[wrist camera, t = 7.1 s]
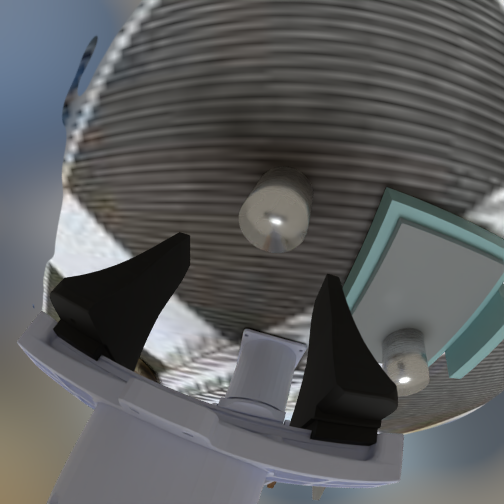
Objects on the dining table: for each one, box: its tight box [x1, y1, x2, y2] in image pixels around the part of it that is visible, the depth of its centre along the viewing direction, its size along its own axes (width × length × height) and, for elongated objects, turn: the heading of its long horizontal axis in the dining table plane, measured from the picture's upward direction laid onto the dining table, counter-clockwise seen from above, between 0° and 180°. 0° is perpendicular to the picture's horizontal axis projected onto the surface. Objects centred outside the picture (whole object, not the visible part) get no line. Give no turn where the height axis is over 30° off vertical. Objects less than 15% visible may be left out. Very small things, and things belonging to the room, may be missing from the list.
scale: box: [343, 187, 504, 379], centre depth 21 cm, size 18×17×6 cm
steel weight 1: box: [239, 167, 313, 253], centre depth 19 cm, size 4×4×5 cm
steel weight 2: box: [382, 328, 429, 396], centre depth 21 cm, size 4×4×5 cm
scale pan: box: [351, 218, 504, 363], centre depth 21 cm, size 16×12×1 cm
